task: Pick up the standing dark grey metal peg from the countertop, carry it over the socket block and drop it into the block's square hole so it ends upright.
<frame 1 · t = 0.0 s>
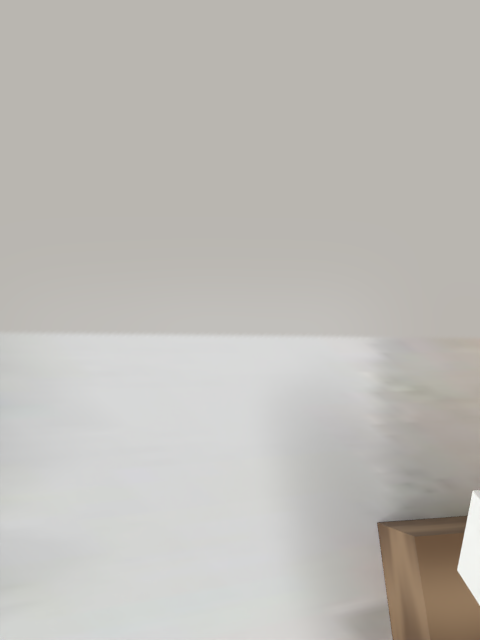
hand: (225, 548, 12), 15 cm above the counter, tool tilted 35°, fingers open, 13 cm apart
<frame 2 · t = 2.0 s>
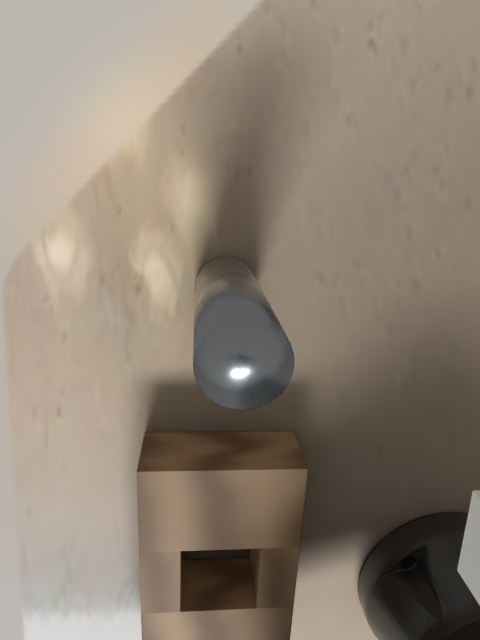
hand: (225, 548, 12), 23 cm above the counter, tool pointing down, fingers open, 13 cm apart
socket block: (217, 531, 40), on the counter
peg: (225, 286, 33), on the counter
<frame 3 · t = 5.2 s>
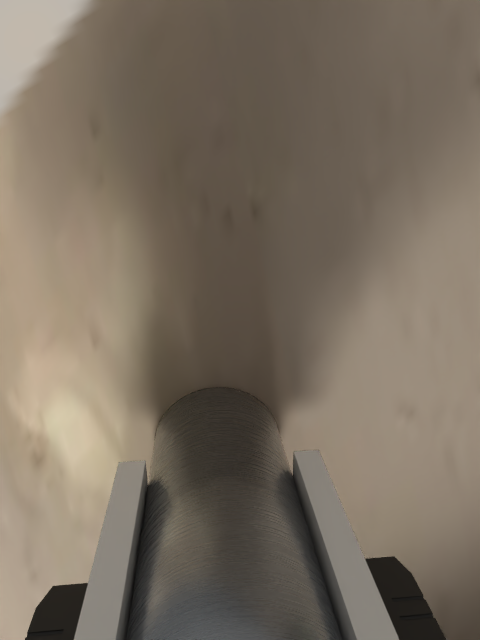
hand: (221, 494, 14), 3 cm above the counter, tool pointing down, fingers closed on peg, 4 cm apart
peg: (217, 443, 16), on the counter, touching gripper
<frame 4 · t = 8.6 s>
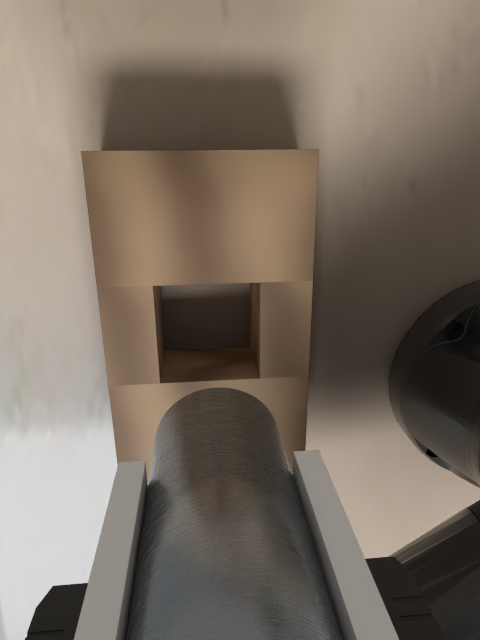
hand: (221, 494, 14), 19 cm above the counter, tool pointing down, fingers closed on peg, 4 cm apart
socket block: (206, 308, 31), on the counter
peg: (217, 443, 16), point 16 cm above the counter, touching gripper
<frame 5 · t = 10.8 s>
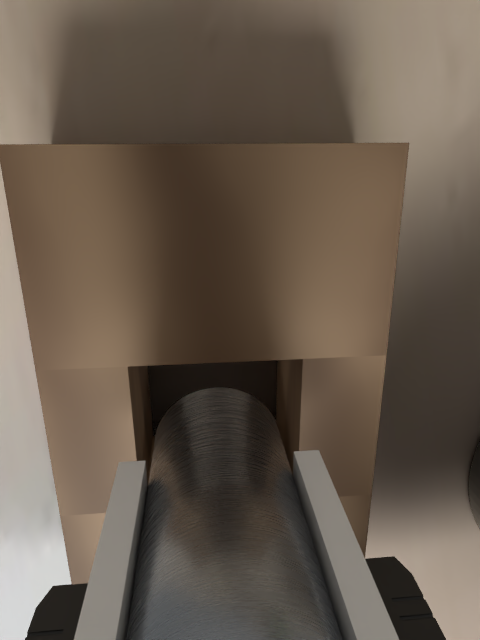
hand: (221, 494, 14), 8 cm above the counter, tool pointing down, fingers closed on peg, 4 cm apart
socket block: (213, 377, 21), on the counter
peg: (217, 443, 16), point 5 cm above the counter, touching gripper
when the fingers open (6 cm above the counter, at t = 12.4 s): peg drops 2 cm, resting in socket block.
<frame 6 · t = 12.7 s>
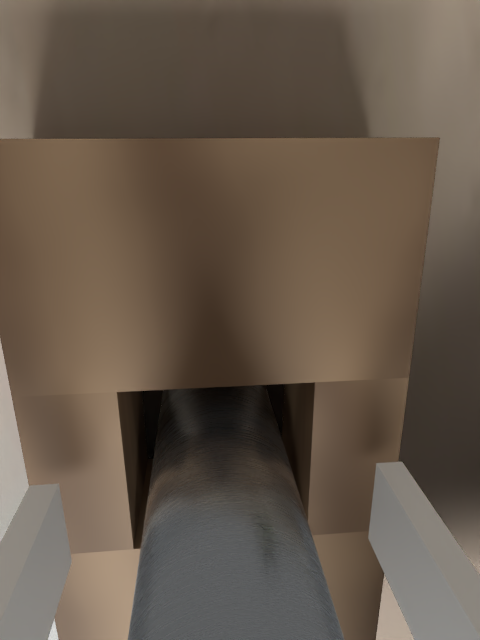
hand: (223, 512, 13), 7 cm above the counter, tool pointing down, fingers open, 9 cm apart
socket block: (214, 395, 20), on the counter
peg: (214, 395, 20), resting in socket block
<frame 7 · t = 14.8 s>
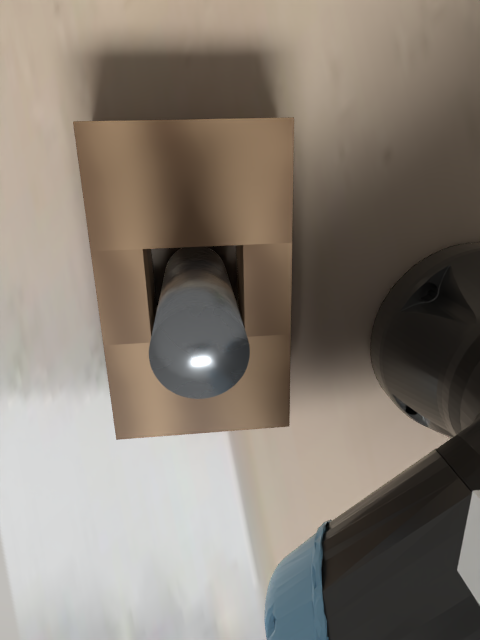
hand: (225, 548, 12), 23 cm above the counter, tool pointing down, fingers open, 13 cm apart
socket block: (195, 275, 33), on the counter
peg: (195, 275, 33), resting in socket block
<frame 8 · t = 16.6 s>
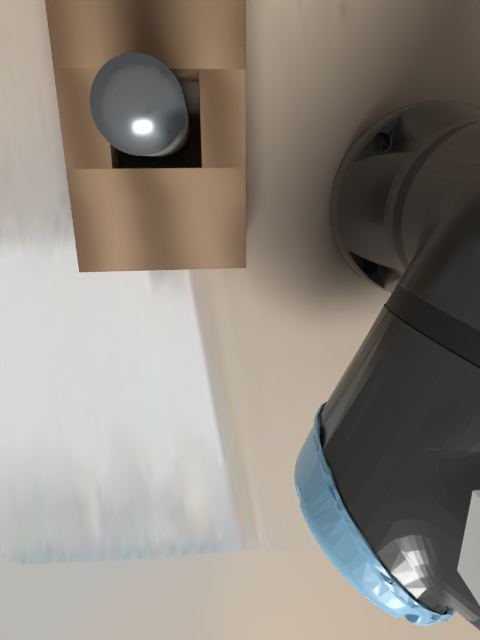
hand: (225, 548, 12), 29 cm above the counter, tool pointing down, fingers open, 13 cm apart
socket block: (160, 125, 35), on the counter
peg: (160, 125, 35), resting in socket block
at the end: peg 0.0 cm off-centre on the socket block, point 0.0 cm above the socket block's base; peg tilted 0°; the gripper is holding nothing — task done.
